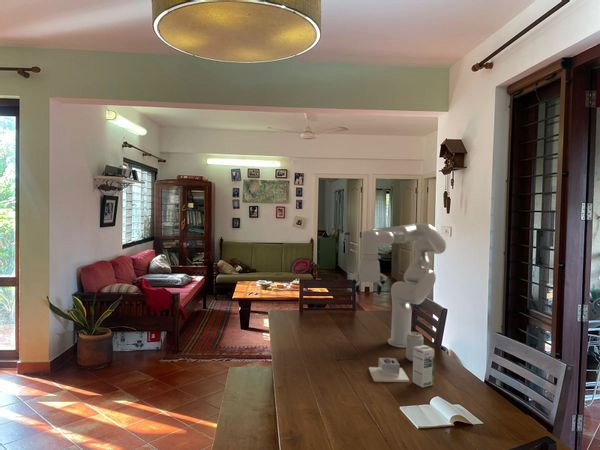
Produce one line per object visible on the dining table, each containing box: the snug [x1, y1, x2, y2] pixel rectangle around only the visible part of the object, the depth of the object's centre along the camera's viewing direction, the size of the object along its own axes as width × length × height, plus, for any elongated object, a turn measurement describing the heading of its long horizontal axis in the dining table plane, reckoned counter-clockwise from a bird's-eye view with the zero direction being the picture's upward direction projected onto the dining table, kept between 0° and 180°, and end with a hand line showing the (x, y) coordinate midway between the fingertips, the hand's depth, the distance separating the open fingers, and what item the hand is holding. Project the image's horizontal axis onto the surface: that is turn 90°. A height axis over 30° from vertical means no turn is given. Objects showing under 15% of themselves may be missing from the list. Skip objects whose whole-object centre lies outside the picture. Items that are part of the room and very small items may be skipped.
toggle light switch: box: [368, 357, 410, 383], centre depth 170 cm, size 14×12×7 cm
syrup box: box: [412, 344, 435, 388], centre depth 163 cm, size 6×6×14 cm
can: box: [405, 331, 425, 362], centre depth 189 cm, size 8×8×12 cm
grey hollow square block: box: [377, 357, 401, 377], centre depth 170 cm, size 7×7×5 cm
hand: (368, 293), depth 194 cm, fingers open, 9 cm apart
